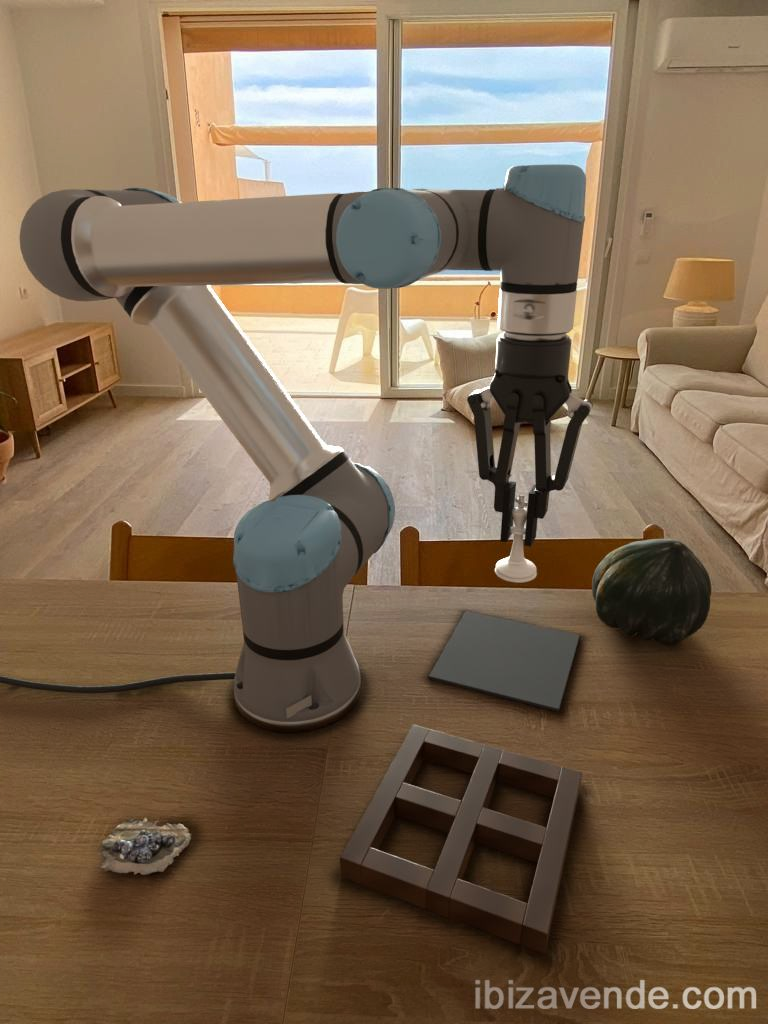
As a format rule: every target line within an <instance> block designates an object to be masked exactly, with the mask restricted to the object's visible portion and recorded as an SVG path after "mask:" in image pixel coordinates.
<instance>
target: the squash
mask: <svg viewBox="0 0 768 1024" xmlns="http://www.w3.org/2000/svg"><path fill="white" fill-rule="evenodd" d="M591 590H592V591H591V594H592V597H593V600H594V602H595V604H594V605H595V613H596V615H597V617H598V618H599V619H600V621H601V622H603V623H604V624H605V625H606V626H607V627H609V628H612V629H619V631H620V632H621V633H622V634H623V635H625V636H626V637H634V636H636V635H637V636H638V638H640V639H641V640H644V641H654V642H656V643H658V644H661V645H663V646H675V645H677V644H679V643H682V641H683V640H684V639H686V638H689V637H691V636H692V635H694V634H695V633H697V632H698V631H699V630H700V629H701V628H702V627H703V626H704V624H705V623H706V622H707V618H708V616H709V612H710V608H711V596H712V582H711V579H710V575H709V573H708V571H707V569H706V567H705V566H704V565H703V563H702V562H701V560H700V559H699V558H698V556H696V555H695V553H694V552H693V551H692V549H690V547H688V546H687V545H686V544H684V542H682V541H680V540H678V539H674V538H652V539H645V540H638V541H632V542H629V543H628V544H625V545H623V546H620V547H617V548H616V549H613V550H612V551H610V552H609V553H608V554H607V555H606V556H605V557H604V558H603V559H602V560H601V561H600V563H599V564H598V565H597V567H596V568H595V569H594V573H593V576H592V581H591Z"/></svg>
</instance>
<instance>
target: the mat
mask: <svg viewBox="0 0 768 1024" xmlns="http://www.w3.org/2000/svg"><path fill="white" fill-rule="evenodd" d="M580 636H581V635H580V634H576V633H571V632H567V631H561V630H557V629H552V628H548V627H543V626H539V625H534V624H530V623H529V624H528V623H525V622H520V621H515V620H511V619H505V618H501V617H496V616H493V615H487V614H483V613H477V612H474V611H469V610H465V611H464V614H463V615H462V617H461V619H460V621H459V622H458V624H457V626H456V627H455V629H454V631H453V633H452V635H451V636H450V638H449V640H448V642H447V643H446V645H445V647H444V649H443V651H441V652H442V653H441V654H440V655H439V658H438V659H437V661H436V663H435V664H434V666H433V668H432V670H431V672H430V674H429V675H428V679H429V680H432V681H433V680H434V681H437V682H441V683H445V684H449V685H453V686H456V687H460V688H465V689H468V690H471V691H472V690H473V691H475V692H480V693H485V694H488V695H492V696H496V697H499V698H504V699H508V700H512V701H514V702H519V703H524V704H528V705H531V706H536V707H539V708H542V709H547V710H551V711H555V712H560V708H561V705H562V701H563V698H564V694H565V691H566V687H567V684H568V681H569V676H570V673H571V669H572V666H573V662H574V659H575V656H576V653H577V648H578V644H579V641H580Z"/></svg>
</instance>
